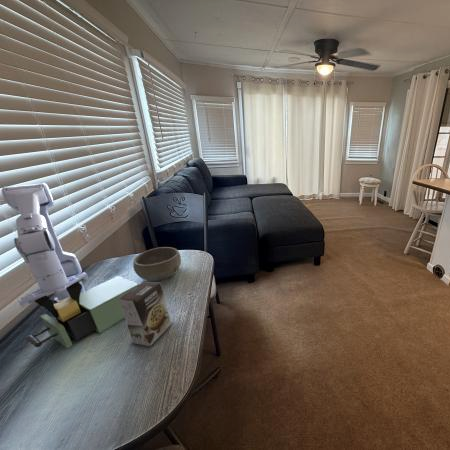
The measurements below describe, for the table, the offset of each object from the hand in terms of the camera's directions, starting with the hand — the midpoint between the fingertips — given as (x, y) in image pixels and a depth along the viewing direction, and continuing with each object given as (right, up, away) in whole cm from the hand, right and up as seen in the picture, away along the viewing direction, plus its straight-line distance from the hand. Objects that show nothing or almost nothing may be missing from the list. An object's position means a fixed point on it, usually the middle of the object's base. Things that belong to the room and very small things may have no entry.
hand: (66, 311), depth 72 cm
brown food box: (+25, -8, +3) cm, 26 cm away
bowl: (+9, +4, +34) cm, 35 cm away
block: (0, -1, 0) cm, 1 cm away
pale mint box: (+5, -5, +12) cm, 14 cm away
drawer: (0, -7, +3) cm, 8 cm away
